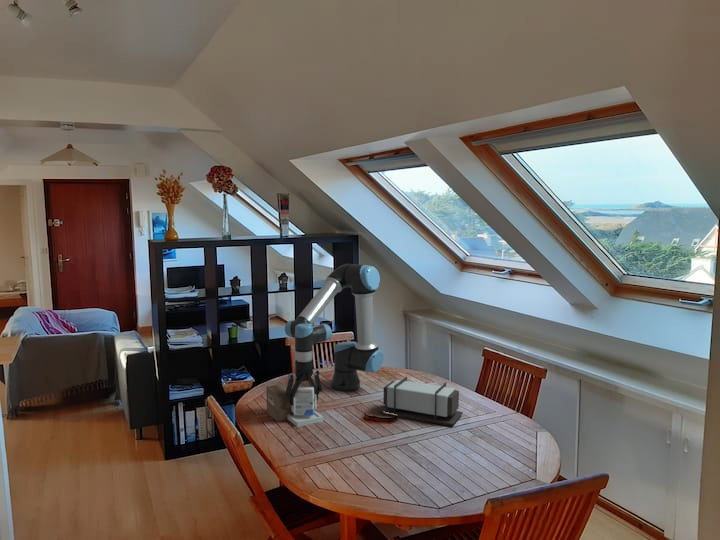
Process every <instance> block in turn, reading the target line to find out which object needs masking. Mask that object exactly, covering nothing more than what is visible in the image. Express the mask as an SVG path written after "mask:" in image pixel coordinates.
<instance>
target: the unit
mask: <svg viewBox="0 0 720 540" xmlns="http://www.w3.org/2000/svg"><path fill="white" fill-rule="evenodd" d="M286 389H287V385H285V384H284V383H281V384H280V383H279V384H275V385H269V386H266V391H265V392H266V394H265V395H266V413H267V415H269V416H270V417H272V418H273V419H274V420H275V421H276V422H280V421H285V420H288V419H287V415H288V414H290V415H291V416H292V415H294V413H293V412H292V411H291V405H290V398H288V397H286V396H285V394H286Z"/></svg>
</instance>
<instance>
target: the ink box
mask: <svg viewBox="0 0 720 540" xmlns="http://www.w3.org/2000/svg"><path fill="white" fill-rule="evenodd" d="M294 398H296V413H294V415H313V414H314V411H315V409H314V387H312V386H311V385H310V386H308V385H307V386H306V385H305V386H303V385H299V387H298V389H297V392H296V394H295V396H294Z"/></svg>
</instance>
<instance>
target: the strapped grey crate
mask: <svg viewBox="0 0 720 540" xmlns="http://www.w3.org/2000/svg"><path fill="white" fill-rule="evenodd" d="M459 400H460V391H459V390H456V389H455V387H448V386H447V382H444V383H443V384H442V385H435V384H429V383H422V382H417V381H416V382H414V381H408V376H405V377H404V378H403V379H397V380H392V381H390V382H389V383H387V384H386V385H384V386H383V402H382V403H383V406H382V407H381V408H379V409H378V410H379V411H378V412H380V411H385V412H389V413H394V414H397V415H398V416H397V417H399V418H404V419H409V420H414V421H421V422H425V423H433V424H437V425H442V426H443V425H444V426H447V427H448V426H449V427H451V426H452V425H454V424H455V423H456V422H457V420H459V418H460V417H461V415H462V414H463V413H464V412H463V411H459V410H458V409H459V407H460V406H459V403H460V401H459Z"/></svg>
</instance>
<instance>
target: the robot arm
mask: <svg viewBox="0 0 720 540" xmlns="http://www.w3.org/2000/svg"><path fill="white" fill-rule="evenodd" d="M380 281H381V277H380V273H379V271H378V269H377V268H376V267H375V266H372V265H367V264H358V263H357V264H355V263H345V264H342V265H340V266H338V267H337V268H335V269H334V270H333V271H331V273H330V274H328V276H327V277H326V278H325V280H324V284H323V285H322V286H321V287H320V289H319V290H318V291H317V292H316V294H315V295H314V296H313V298H312V299H311V300H310V301H309V303H308V304H307V305H306V306H305V308H303V310H302V311H301V312H300V314H299V315H298V316H297V317H296V319H295V320H293V319H292V320H289V321H287V322H286V323H285V326H284V333H285V335H286V336H288V337H290V338H293V339H294V348H295V349H294V359H295V361H294V368H295V370H294V373H288V382H287V385H286V386H287V389H286V394H285V396H286V397H288V398H290V405H291V411H292V412H293V413H296V398H294V396H295V394H296V392H297V389H298V387H299V386H301V384H302V383H304V382H308V383H309V385H310V386H312V387H314V410H317V402H318V400H319V395H320V393H322V392H323V388H322V383H321V379H320V371H319V370H318V369H313V364H314V363H313V359H314V358H313V357H314V355H313V353H314V352H313V350H314V349H313V347H314V346H313V345H315V344H318V343H322V342H326V341H328V340H330V339H331V337H332V334H333V331H332V328H331V326H330V325H329V324H328V323H327V324H326V323H320V324H314V323H315V322H316V320H317V319H318V318H319V316H320V315H321V314H322V313H323V312H324V310H325V309H326V308H327V306H328V305H329V304H330V303H331V301H332V300H333V299H334V298H335V296H336V295H337V294H338V293H341V292H342V291H343V289H345V288H351V294H352V295H353V296H354V299H355V301H354V302H355V315H356V316H355V318H356V320H355V321H356V333H357V334H356V335H357V336H356V337H357V342H356V341H342V342H338V343H336V344H335V345H334V348H333V349H334V352H333V362H334V364H333V367H334V368H333V370H334V371H333V375H332V378H331V381H330V388H331V389H333V390H335V391H341V392H348V391H349V392H350V391H356V390H358V389H359V388H361V380H360V378H359V375H358V372H357V371H360V372H365V373H371V374H374V373H376V372H378V371H380V369H381V367H382V366H383V364H384V358H385V357H384V356H385V355H384V352H383V351H382V350H381V349H379V343H377V341H376V337H375V316H374V299H373V297H374V296H373V295H375V293H376V290H377V289H378V288H379V286H380ZM312 376H313V377H314V380H315V383H314V380H313V378H312ZM294 380H295V381H294Z"/></svg>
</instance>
